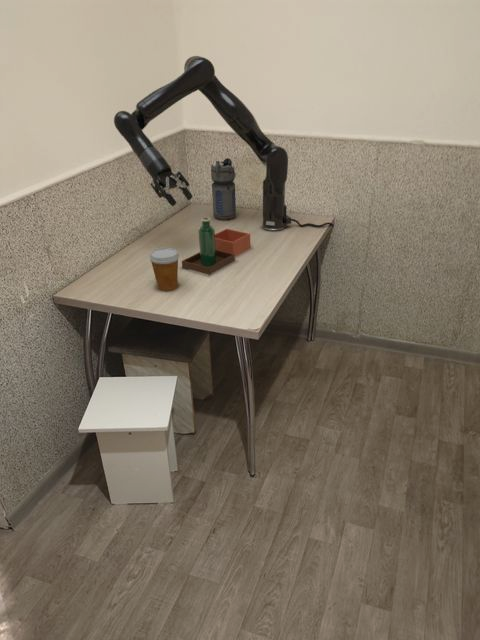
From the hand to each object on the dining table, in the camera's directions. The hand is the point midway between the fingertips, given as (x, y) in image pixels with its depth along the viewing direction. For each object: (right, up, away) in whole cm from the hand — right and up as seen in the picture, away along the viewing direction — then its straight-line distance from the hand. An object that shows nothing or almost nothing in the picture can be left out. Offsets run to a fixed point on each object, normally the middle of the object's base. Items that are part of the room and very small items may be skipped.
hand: (182, 201), depth 179 cm
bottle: (+8, -21, +5) cm, 23 cm away
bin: (+16, -14, +17) cm, 27 cm away
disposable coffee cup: (-3, -31, -10) cm, 33 cm away
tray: (+9, -21, +5) cm, 24 cm away
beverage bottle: (+11, +8, +52) cm, 54 cm away
